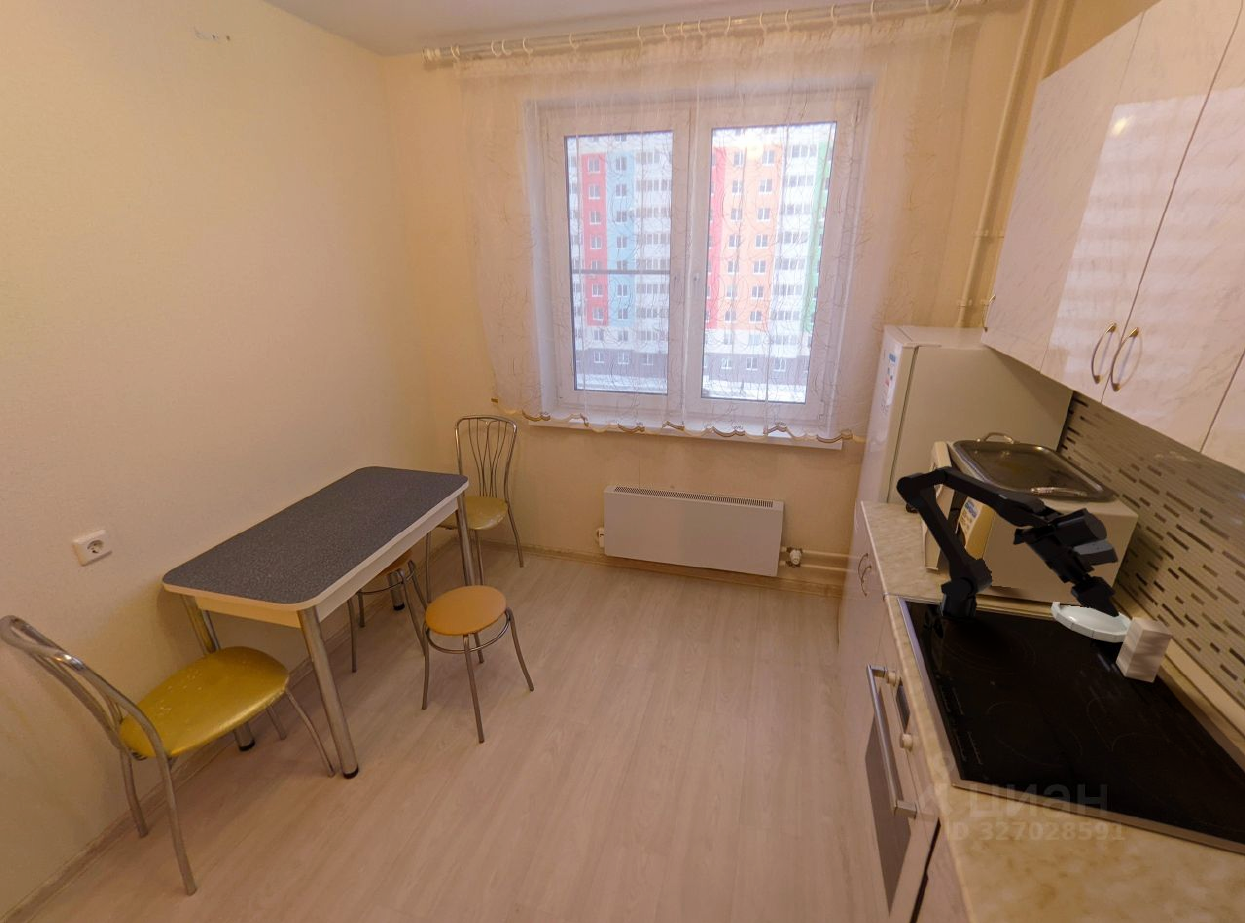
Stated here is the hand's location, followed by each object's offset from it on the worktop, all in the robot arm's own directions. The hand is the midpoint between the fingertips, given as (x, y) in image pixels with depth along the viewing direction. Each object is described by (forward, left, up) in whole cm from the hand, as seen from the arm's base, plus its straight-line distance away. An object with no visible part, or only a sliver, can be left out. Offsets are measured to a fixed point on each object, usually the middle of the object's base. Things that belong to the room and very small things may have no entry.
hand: (1106, 604), depth 111 cm
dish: (+6, +17, -14) cm, 23 cm away
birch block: (+8, -1, -14) cm, 16 cm away
